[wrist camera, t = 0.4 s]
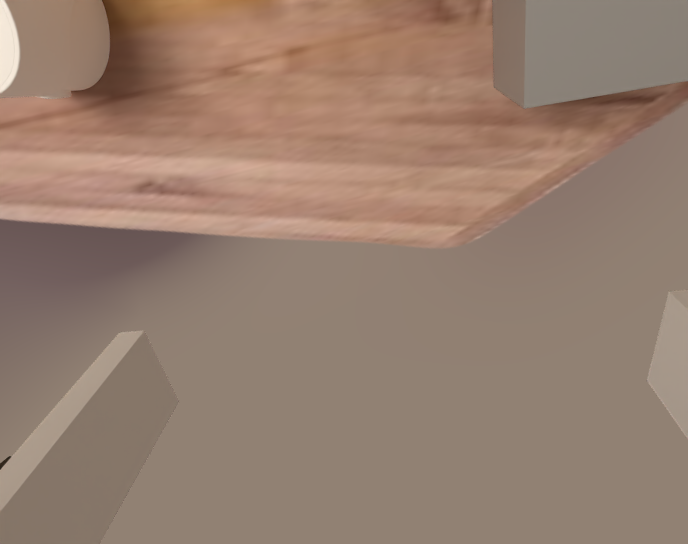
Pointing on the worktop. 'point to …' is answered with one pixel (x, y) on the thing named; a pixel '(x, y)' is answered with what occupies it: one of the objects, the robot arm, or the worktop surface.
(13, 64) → the mug
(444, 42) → the worktop surface
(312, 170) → the worktop surface
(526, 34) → the cover
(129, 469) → the robot arm
